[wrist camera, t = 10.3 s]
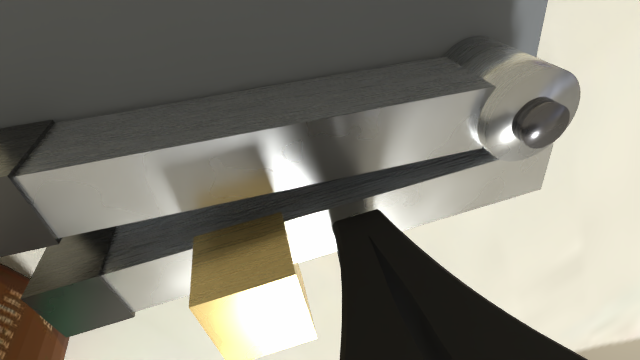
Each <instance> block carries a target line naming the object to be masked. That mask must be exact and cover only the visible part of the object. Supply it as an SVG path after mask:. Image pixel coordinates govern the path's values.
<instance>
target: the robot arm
mask: <svg viewBox="0 0 640 360" xmlns="http://www.w3.org/2000/svg"><path fill="white" fill-rule="evenodd" d="M332 228H333V233H334V237H335V242H336V247H337V252H338V257H339V262H340V267H341V280H342V331H341V349H340V360H587V359H586V358H584V357H582V356H580V355H579V354H577V353H575V352H573V351H571V350H570V349H568V348H566V347H564V346H562V345H561V344H559V343H557V342H555V341H554V340H552V339H550V338H548V337H546V336H545V335H543V334H541V333H539V332H537V331H536V330H534V329H532V328H531V327H529V326H527V325H526V324H524V323H523V322H521V321H519V320H518V319H516V318H515V317H513V316H511V315H510V314H508V313H507V312H505V311H504V310H502V309H501V308H499V307H497V306H496V305H494V304H493V303H491V302H490V301H488V300H487V299H485V298H484V297H483V296H481V295H480V294H478V293H477V292H475V291H474V290H473V289H471V288H470V287H468V286H467V285H466V284H464V283H463V282H462V281H460V280H459V279H458V278H456V277H455V276H454V275H452V274H451V273H450V272H449V271H447V270H446V269H445V268H443V267H442V266H441V265H440V264H438V263H437V262H436V261H435V260H434V259H432V258H431V257H430V256H429V255H428V254H426V253H425V252H424V251H423V250H422V249H420V248H419V247H418V246H417V245H416V244H415V243H414V242H412V241H411V240H410V239H409V238H408V237H407V236H406V235H405V234H404V233H403V232H402V231H400V230H399V229H398V228H397V227H396V226H395V225H394V224H393V223H392V222H391V221H390V220H389V219H388V218H387V217H386V216H385V215H384V214H383V213H382V212H381V211H380V210H378V209H375V210H372V211H369V212H365V213H362V214H358V215H355V216H351V217H348V218H345V219H341V220H338V221H335V222H334V223H333V225H332Z"/></svg>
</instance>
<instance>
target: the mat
mask: <svg viewBox="0 0 640 360" xmlns="http://www.w3.org/2000/svg"><path fill="white" fill-rule="evenodd" d="M547 2H548V0H0V128H6V127H12V126H18V125H24V124H29V123H35V122H41V121H47V120H54V122H55V123H58V122H63V121H69V120H75V119H81V118H87V117H93V116H98V115H104V114H110V113H116V112H122V111H128V110H133V109H139V108H145V107H151V106H157V105H163V104H168V103H174V102H180V101H186V100H192V99H198V98H203V97H209V96H215V95H221V94H227V93H233V92H238V91H244V90H250V89H256V88H262V87H267V86H273V85H279V84H285V83H291V82H297V81H302V80H308V79H314V78H320V77H326V76H332V75H337V74H343V73H349V72H355V71H361V70H367V69H372V68H378V67H384V66H390V65H396V64H402V63H407V62H413V61H419V60H425V59H431V58H437V57H442V56H444V55H445V54H446V53H447V52H448V51H449V50H450V49H451V48H452V47H454V46H455V45H456V44H458V43H459V42H461V41H463V40H465V39H468V38H471V37H476V36H485V37H489V38H492V39H494V40H496V41H499V42H501V43H503V44H506V45H508V46H510V47H513V48H515V49H517V50H520V51H522V52H525V53H527V54H529V55H532V56H534V57H536V55H537V50H538V45H539V41H540V36H541V31H542V26H543V21H544V17H545V12H546V7H547Z"/></svg>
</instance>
